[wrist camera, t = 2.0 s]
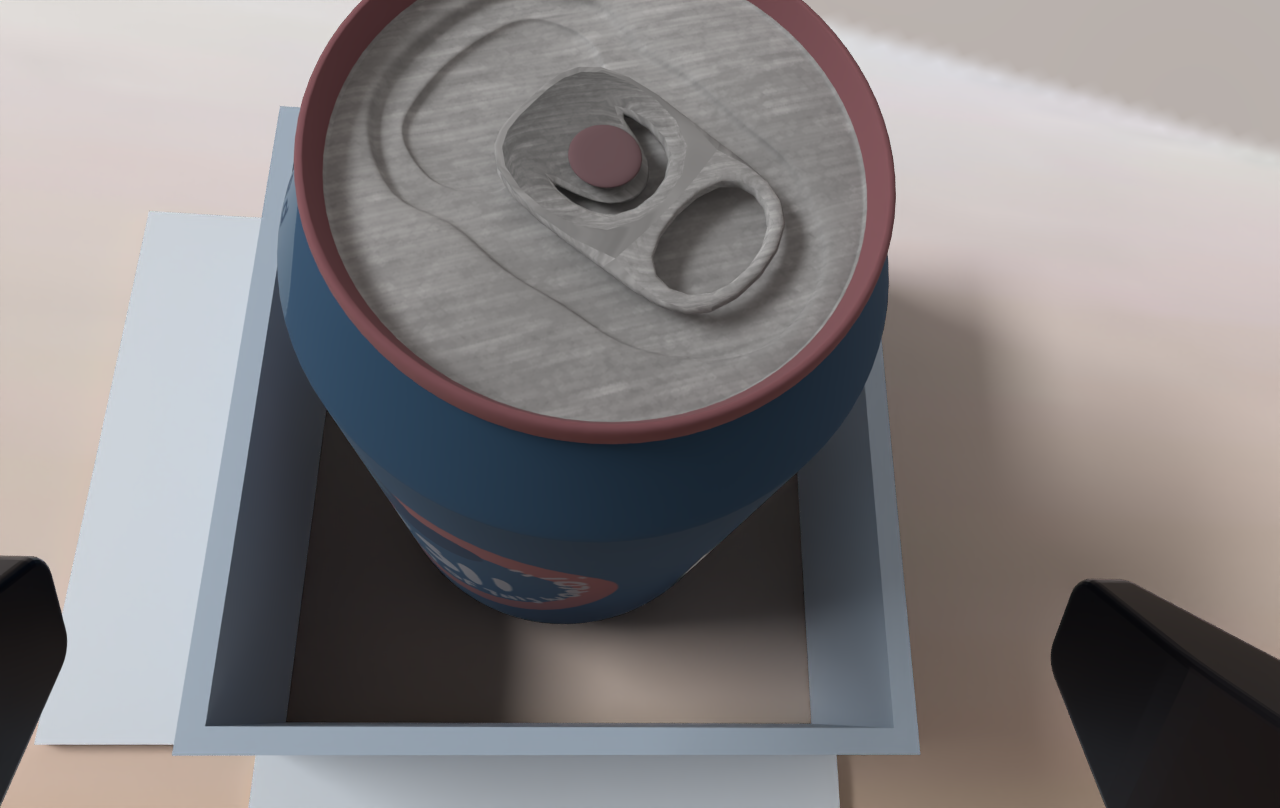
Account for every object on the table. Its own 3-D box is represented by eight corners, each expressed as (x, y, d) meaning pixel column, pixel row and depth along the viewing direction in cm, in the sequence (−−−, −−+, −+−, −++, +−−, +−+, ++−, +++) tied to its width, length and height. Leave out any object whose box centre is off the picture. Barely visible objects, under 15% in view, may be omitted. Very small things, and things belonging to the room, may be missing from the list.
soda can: (337, 489, 19) (43, 163, 8) (546, 272, 21) (559, -227, 10) (586, 700, 18) (673, 685, 7) (777, 451, 20) (1080, 129, 9)
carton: (845, 966, 17) (948, 1051, 13) (-10, 990, 15) (-217, 1096, 11) (800, 256, 22) (863, 149, 18) (154, 218, 20) (54, 89, 16)
